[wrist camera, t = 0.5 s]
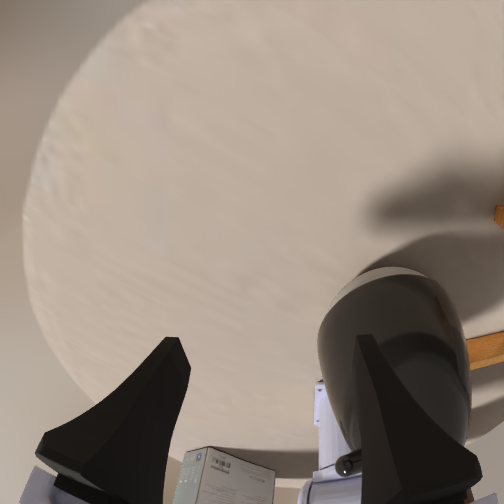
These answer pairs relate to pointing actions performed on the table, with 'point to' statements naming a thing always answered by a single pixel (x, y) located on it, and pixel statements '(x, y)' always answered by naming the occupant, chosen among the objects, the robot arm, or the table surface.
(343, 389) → the dark grey egg shape
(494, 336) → the motor
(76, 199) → the table surface
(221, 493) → the hard drive box
